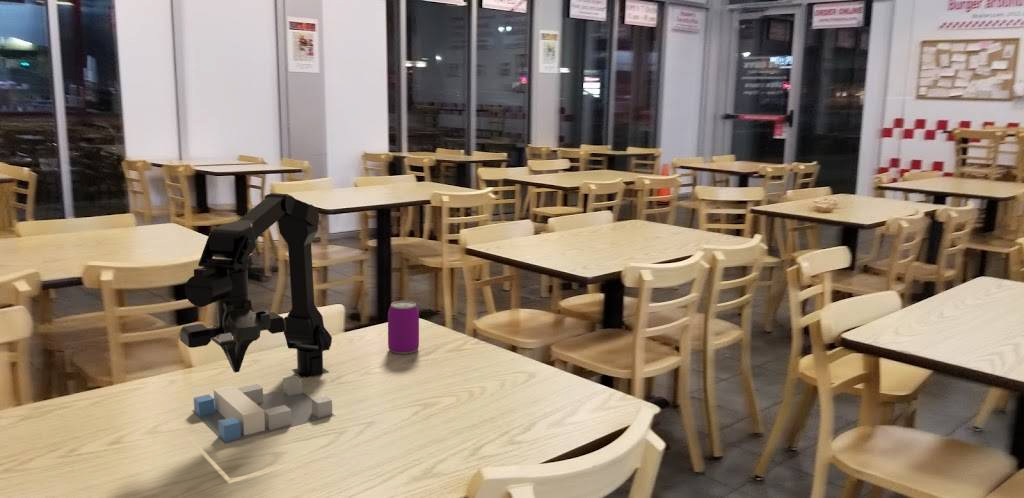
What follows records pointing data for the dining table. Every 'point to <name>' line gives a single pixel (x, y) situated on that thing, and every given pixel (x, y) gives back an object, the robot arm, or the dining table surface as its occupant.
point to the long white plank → (239, 409)
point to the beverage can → (403, 327)
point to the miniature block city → (266, 410)
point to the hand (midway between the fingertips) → (236, 371)
